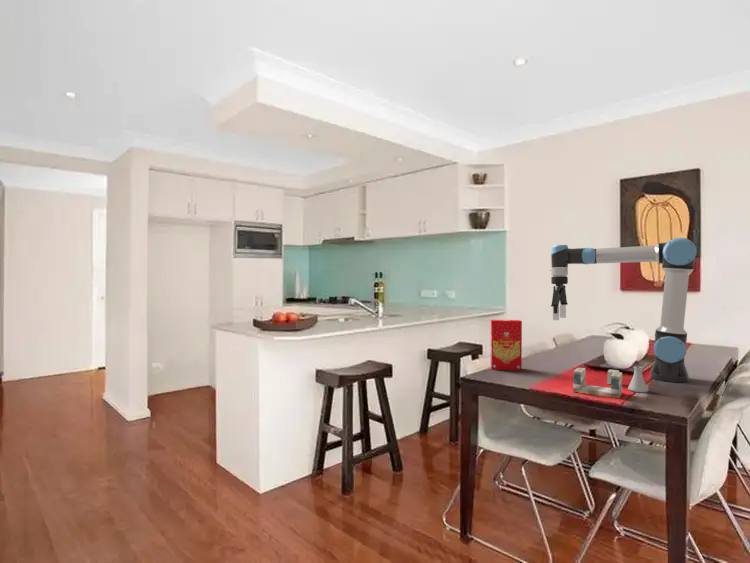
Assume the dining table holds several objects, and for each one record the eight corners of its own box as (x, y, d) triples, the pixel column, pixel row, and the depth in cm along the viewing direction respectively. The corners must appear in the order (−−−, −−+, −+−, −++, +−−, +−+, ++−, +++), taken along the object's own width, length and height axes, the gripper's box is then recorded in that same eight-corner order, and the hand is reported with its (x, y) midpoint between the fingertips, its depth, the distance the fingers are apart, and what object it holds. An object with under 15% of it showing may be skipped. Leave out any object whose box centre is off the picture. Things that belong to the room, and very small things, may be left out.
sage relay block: (619, 383, 203) (619, 370, 202) (617, 386, 199) (617, 372, 198) (609, 382, 205) (609, 369, 205) (607, 384, 201) (607, 371, 201)
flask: (624, 388, 194) (624, 365, 194) (640, 388, 195) (640, 365, 195) (635, 393, 187) (635, 369, 187) (651, 392, 188) (652, 368, 187)
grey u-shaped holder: (622, 393, 187) (622, 372, 187) (619, 398, 179) (619, 377, 179) (577, 386, 197) (578, 367, 197) (573, 392, 189) (573, 371, 189)
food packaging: (491, 369, 232) (491, 320, 231) (490, 367, 237) (490, 319, 237) (521, 370, 230) (521, 321, 229) (519, 368, 235) (520, 320, 234)
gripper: (557, 275, 236) (557, 316, 237) (544, 276, 216) (544, 320, 217) (573, 275, 232) (573, 317, 233) (561, 276, 212) (561, 321, 212)
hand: (559, 318), depth 225 cm, fingers open, 13 cm apart
